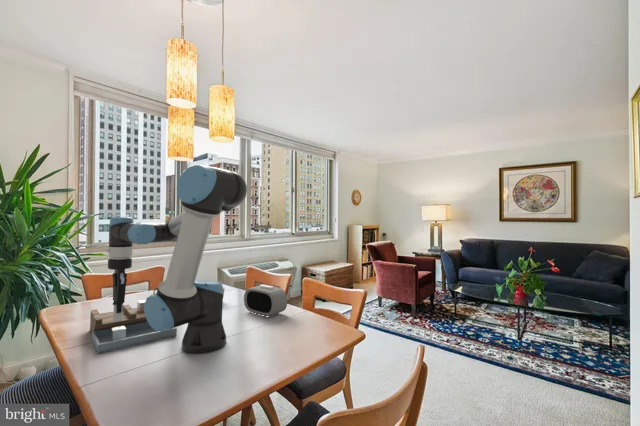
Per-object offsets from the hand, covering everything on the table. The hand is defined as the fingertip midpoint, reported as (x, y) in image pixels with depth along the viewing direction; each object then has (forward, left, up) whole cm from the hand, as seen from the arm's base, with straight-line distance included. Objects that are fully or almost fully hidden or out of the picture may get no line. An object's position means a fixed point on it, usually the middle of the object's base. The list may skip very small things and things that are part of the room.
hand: (117, 320), depth 113 cm
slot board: (+10, -5, -7) cm, 13 cm away
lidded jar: (+25, -48, -7) cm, 55 cm away
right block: (+11, -11, -1) cm, 16 cm away
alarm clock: (-7, -60, -7) cm, 61 cm away
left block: (0, 0, -4) cm, 4 cm away
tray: (-2, -5, -7) cm, 9 cm away
